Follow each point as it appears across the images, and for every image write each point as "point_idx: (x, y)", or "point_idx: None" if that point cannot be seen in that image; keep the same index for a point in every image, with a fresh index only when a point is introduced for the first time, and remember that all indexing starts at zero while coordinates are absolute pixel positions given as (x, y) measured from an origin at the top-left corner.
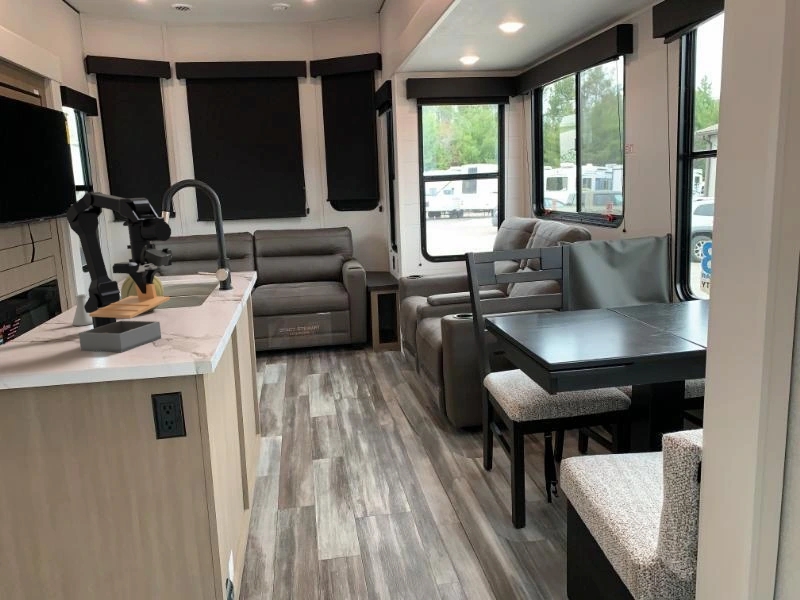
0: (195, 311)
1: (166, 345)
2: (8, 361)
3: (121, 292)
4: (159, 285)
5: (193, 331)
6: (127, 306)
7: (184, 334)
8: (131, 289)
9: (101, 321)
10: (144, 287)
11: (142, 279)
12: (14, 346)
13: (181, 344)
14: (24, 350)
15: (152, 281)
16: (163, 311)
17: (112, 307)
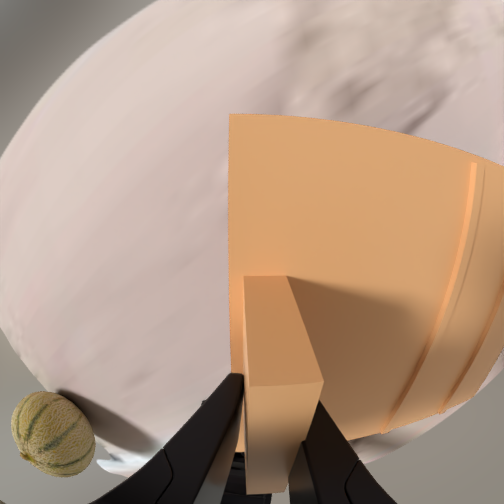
0: (11, 302)
1: (427, 63)
2: (494, 376)
3: (88, 464)
4: (20, 416)
5: (198, 83)
6: (455, 328)
7: (257, 83)
8: (75, 457)
9: None
10: (330, 420)
11: (392, 502)
12: (385, 450)
13: (403, 18)
14: (425, 420)
15: (169, 449)
16: (48, 374)
17: (437, 389)
